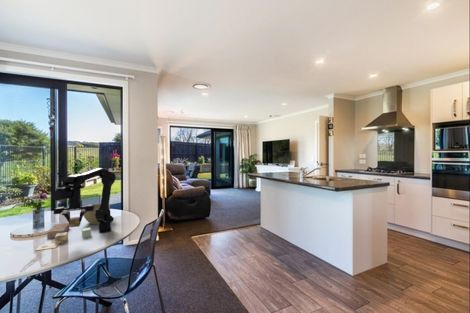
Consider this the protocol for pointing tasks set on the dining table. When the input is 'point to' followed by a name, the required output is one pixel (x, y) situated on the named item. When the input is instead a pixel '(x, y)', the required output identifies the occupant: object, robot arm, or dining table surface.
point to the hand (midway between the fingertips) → (75, 223)
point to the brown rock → (58, 229)
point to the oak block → (61, 237)
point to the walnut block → (74, 222)
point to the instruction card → (47, 246)
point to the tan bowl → (92, 215)
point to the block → (86, 232)
